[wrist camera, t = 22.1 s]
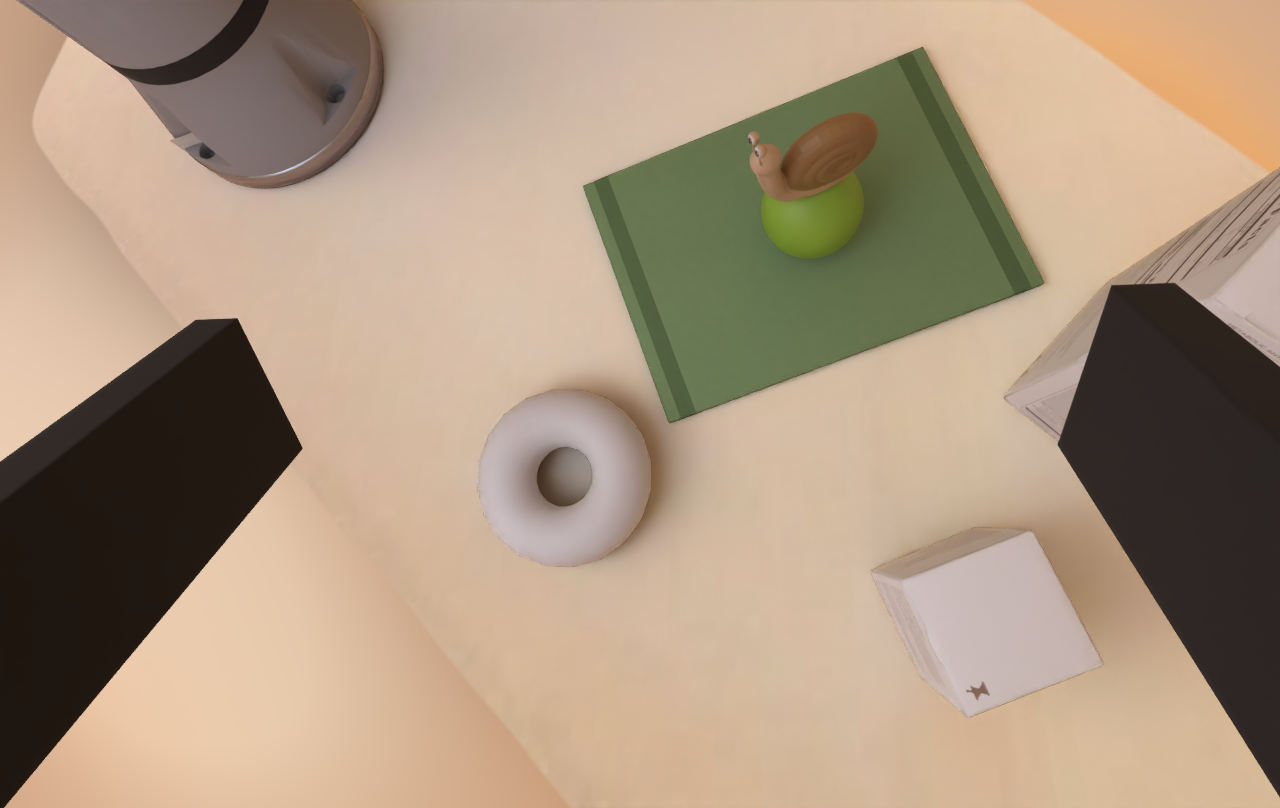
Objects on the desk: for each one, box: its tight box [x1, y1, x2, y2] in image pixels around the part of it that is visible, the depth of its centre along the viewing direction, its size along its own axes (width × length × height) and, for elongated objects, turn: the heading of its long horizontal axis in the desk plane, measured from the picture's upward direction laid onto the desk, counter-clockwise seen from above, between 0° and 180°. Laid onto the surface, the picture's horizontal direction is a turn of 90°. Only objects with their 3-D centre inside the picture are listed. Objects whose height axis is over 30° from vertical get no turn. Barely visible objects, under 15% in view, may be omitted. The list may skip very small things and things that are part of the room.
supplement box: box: [1004, 167, 1280, 442], centre depth 27 cm, size 10×9×17 cm
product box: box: [871, 527, 1103, 717], centre depth 31 cm, size 6×6×7 cm
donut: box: [477, 390, 651, 567], centre depth 37 cm, size 10×3×10 cm
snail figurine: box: [748, 112, 878, 259], centre depth 33 cm, size 5×6×12 cm
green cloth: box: [583, 47, 1044, 423], centre depth 39 cm, size 16×22×1 cm
